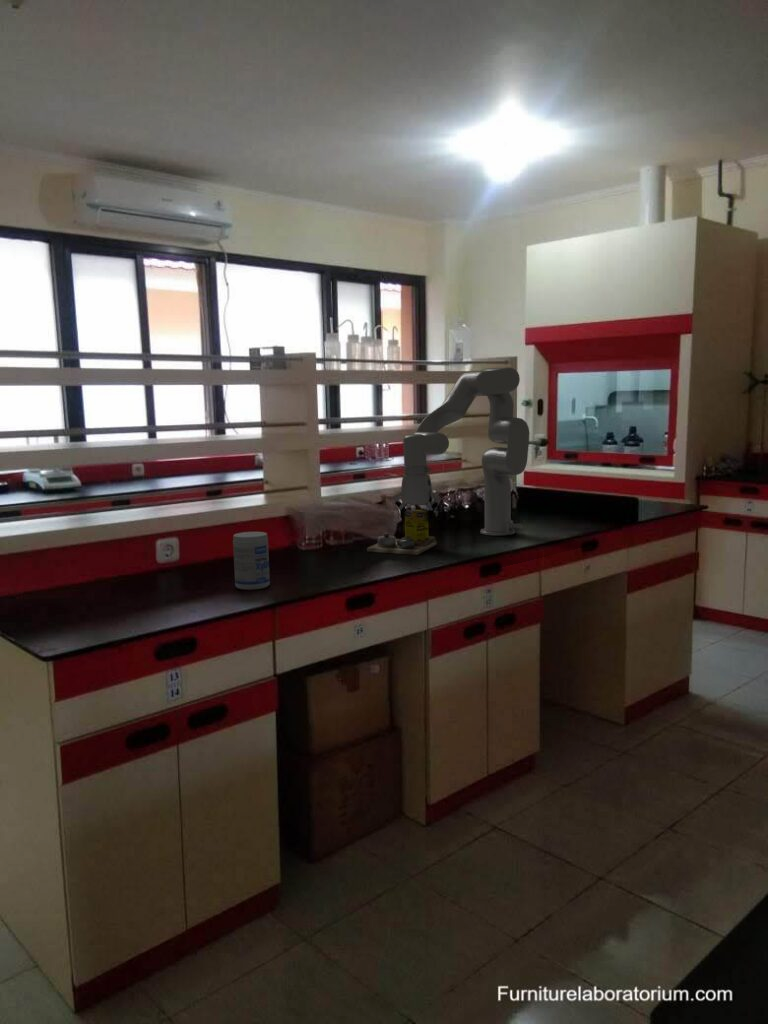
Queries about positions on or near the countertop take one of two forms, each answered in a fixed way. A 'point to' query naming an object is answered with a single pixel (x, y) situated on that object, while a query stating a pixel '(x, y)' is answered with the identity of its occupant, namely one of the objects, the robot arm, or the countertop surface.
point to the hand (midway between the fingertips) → (417, 521)
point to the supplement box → (416, 525)
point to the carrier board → (392, 545)
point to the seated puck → (406, 544)
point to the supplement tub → (251, 560)
